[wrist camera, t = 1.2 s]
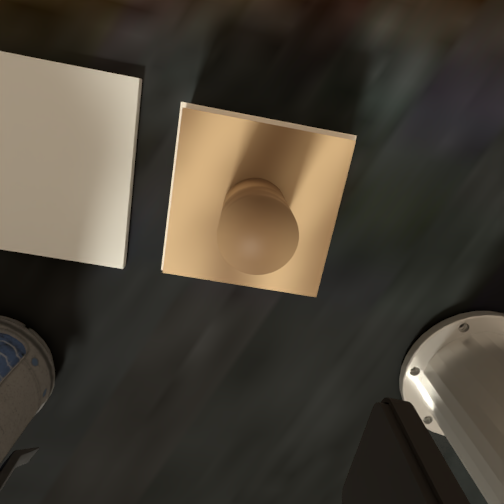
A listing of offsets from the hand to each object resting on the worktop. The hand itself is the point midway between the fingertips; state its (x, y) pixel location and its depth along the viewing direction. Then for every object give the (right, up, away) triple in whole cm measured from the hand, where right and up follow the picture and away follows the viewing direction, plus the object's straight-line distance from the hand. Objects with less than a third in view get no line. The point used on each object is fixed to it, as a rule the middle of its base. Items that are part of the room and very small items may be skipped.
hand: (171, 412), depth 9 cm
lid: (+2, +7, +17) cm, 18 cm away
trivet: (-14, +10, +20) cm, 27 cm away
